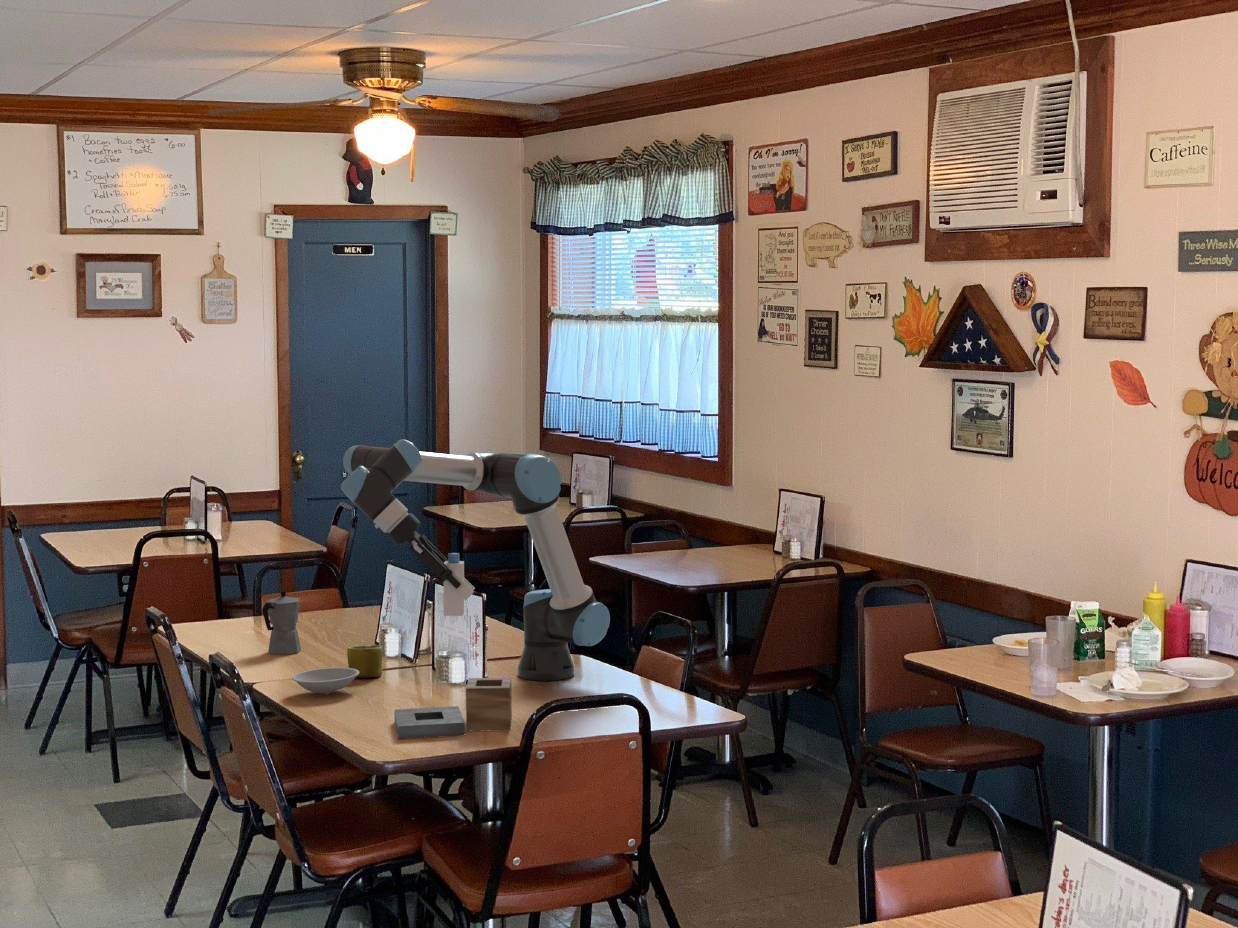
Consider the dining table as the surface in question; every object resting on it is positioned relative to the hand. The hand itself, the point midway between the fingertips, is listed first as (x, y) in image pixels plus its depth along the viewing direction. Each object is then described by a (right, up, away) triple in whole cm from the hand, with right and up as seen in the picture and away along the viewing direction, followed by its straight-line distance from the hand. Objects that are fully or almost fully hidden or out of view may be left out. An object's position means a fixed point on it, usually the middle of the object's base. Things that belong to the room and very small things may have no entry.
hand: (470, 594), depth 327 cm
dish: (-40, -29, +35) cm, 61 cm away
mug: (-34, -27, +56) cm, 70 cm away
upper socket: (+4, -31, +5) cm, 32 cm away
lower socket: (-10, -31, +2) cm, 33 cm away
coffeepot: (-63, -25, +83) cm, 107 cm away
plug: (-4, -5, 0) cm, 6 cm away
